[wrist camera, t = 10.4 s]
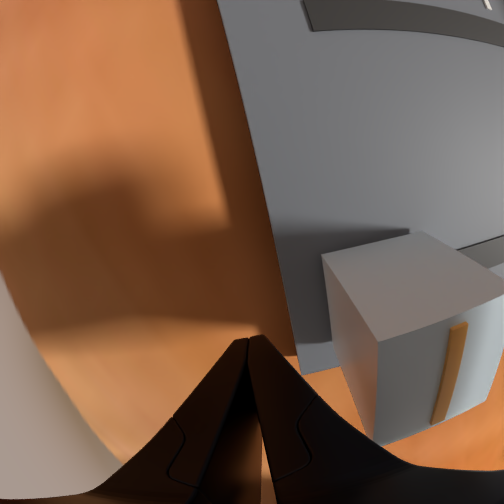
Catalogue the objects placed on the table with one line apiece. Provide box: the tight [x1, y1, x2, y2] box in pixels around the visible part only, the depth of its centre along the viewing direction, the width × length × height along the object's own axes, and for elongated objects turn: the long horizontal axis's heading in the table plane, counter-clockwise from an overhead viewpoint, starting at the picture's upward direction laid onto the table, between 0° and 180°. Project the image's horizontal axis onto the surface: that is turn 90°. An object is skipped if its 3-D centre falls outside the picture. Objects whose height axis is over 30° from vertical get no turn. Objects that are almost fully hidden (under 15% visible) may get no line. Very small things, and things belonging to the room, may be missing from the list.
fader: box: [321, 231, 504, 446], centre depth 7 cm, size 4×4×5 cm
